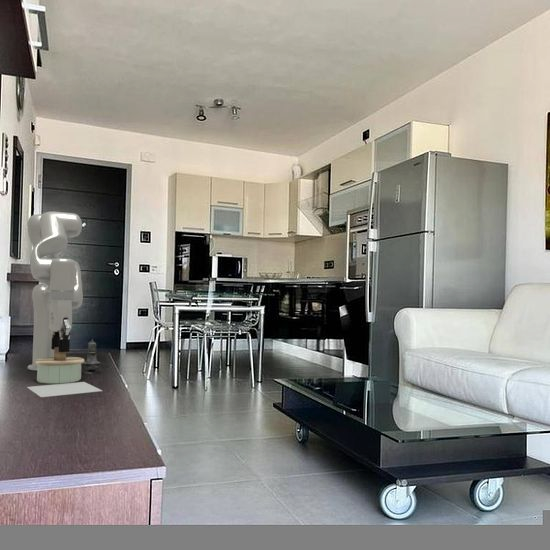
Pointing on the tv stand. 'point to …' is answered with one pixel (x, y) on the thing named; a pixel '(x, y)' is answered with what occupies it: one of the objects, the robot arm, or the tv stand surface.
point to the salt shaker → (91, 359)
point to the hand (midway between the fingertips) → (60, 350)
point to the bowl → (58, 373)
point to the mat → (63, 389)
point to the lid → (59, 359)
